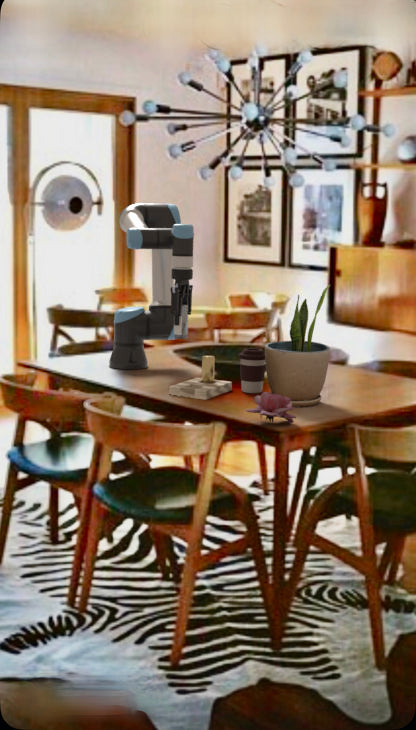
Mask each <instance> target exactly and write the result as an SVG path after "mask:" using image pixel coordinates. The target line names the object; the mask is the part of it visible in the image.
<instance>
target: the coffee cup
mask: <svg viewBox="0 0 416 730" xmlns="http://www.w3.org/2000/svg"><path fill="white" fill-rule="evenodd" d="M238 358H239V360H240V363H239V368H240V369H239V371H240V374H239V375H240V380H241V381H240V384H241V392H243V393H246V394H259V393H263V389H264V388H263V387H264V381H265V375H266V374H265V372H266V362H265V351H264V350H263V349H262V348H257V347H249V348H247V347H245V348H243V350H242V352H239V353H238Z"/></svg>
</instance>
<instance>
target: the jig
mask: <svg viewBox="0 0 416 730" xmlns="http://www.w3.org/2000/svg"><path fill="white" fill-rule="evenodd" d="M201 381H202V377H194V378H192V379H188V380H186V381H181V382H179V383H175V384H172V385H170V386H169V388H168V389H169V394H171V395H170V396H173V395H177V396H176V397H181V396H183V397H182V398H189V397H190V399H197V400H199V399H200V400H204V401H205V400H209V399H211V398H214V397H216V396H219V395H222V394H224V393H228V392H230V391H231V392H232V389H233V386H232V385H233V381H228V380H218V379H214V383H213V384H207V383H201ZM169 394H168V395H169Z"/></svg>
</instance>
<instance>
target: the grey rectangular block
mask: <svg viewBox="0 0 416 730" xmlns="http://www.w3.org/2000/svg"><path fill="white" fill-rule="evenodd" d="M187 314H188V305H186V304H182V309H181V316H182V335H176V334H175V339H174V340H185V339H186V340H187V339H188V333H187Z"/></svg>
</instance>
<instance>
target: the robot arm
mask: <svg viewBox="0 0 416 730" xmlns="http://www.w3.org/2000/svg"><path fill="white" fill-rule="evenodd" d="M181 219H182V218H181V215H180V210H179V207H178V206H177V205H176V204H175V203H174V204H173V203H166V202H165V203H163V202H161V203H152V202H150V203H148V202H138V203H134V204H130V205H128V206H126V207H125V208H124V209H122V211H121V212H120V213H119V216H118V225H119V226H120V229H121V230H122V231H123V232H125V233H126V238H125V239H126V241H125V242H126V246H127V248H128V249H130V250H131V249H132V250H151V284H152V285H151V286H152V287H151V291H152V293H151V294H152V295H151V296H152V297H151V298H152V301H151V302H150V304H149V305H148V310H145V307H143V306H129V307H123V308H120V309H117V310H115V312H114V317H113V318H114V319H113V325H114V326H113V327H114V329H113V331H114V332H113V349H112V351H111V354H110V357H109V360H108V361H109V367H110V368H113V369H119V370H140V369H145V368H148V365H149V364H148V363H149V361H148V358H147V354H146V351H145V347H144V344H145V343H144V341H168V340H169V341H172V340H173V341H174V340H176V339H175V334H176V335H182V316H181V309H182V304H186V305H188V314H187V334H188V333H189V316H191V315H192V305H193V304H192V303H193V302H192V301H193V299H192V298H193V287H194V285H193V284H190V281H191V280H192V279H193V275H194V270H193V269H192V268H193V267H194V240H195V239H194V236H195V233H194V232H195V231H194V225H193V224H188V223H182V220H181Z"/></svg>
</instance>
